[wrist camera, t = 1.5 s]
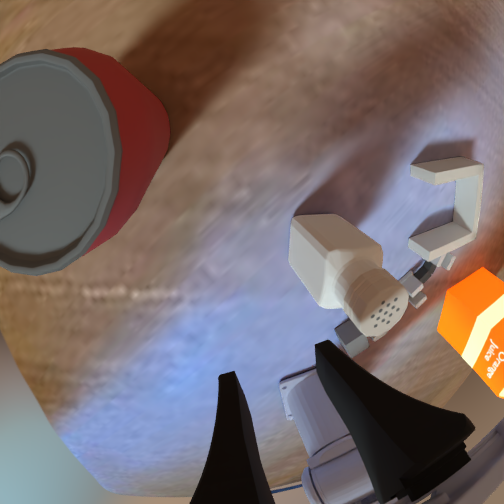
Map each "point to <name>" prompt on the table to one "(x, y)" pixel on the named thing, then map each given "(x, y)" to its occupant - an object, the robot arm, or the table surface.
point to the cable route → (357, 340)
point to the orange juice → (477, 325)
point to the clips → (420, 284)
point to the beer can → (72, 154)
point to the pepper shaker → (346, 272)
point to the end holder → (464, 205)
